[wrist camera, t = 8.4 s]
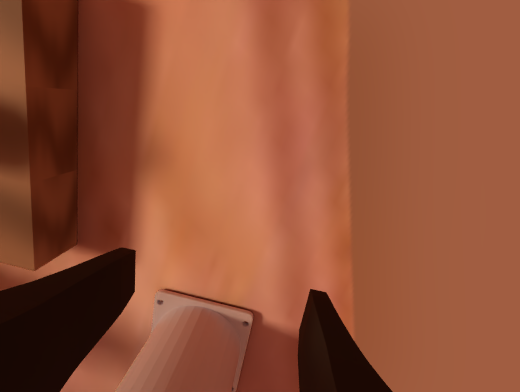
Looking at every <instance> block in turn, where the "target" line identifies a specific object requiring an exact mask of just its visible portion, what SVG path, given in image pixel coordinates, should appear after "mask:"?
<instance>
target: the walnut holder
mask: <svg viewBox="0 0 520 392" xmlns="http://www.w3.org/2000/svg"><path fill="white" fill-rule="evenodd" d="M77 97H78V0H0V263H4V264H8V265H12V266H16V267H20V268H24V269H28V270H32V271H35V270H37V269H39V268H40V267H42V266H43V265H45V264H46V263H48V262H50V261H51V260H53V259H54V258H56V257H58V256H59V255H61V254H62V253H64V252H65V251H67V250H69V249H70V248H72V247H73V246H75V245H76V244H77Z"/></svg>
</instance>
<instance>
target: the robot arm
mask: <svg viewBox="0 0 520 392" xmlns="http://www.w3.org/2000/svg"><path fill="white" fill-rule="evenodd" d="M135 254H136V251H135V250H131V249H126V248H122V247H121V248H118V249H115V250H113V251H110V252H108V253H105V254H103V255H100V256H98V257H95V258H93V259H90V260H88V261H85V262H83V263H81V264H78V265H76V266H73V267H71V268H68V269H65V270H63V271H60V272H57V273H55V274H52V275H49V276H46V277H44V278H41V279H38V280H35V281H32V282H29V283H26V284H23V285H19V286H16V287H13V288H9V289H6V290H2V291H0V392H60V391H61V389H62V388H63V386H64V385H65V383H66V382H67V380H68V379H69V377H70V376H71V375H72V373H73V372H74V371H75V369H76V368H77V367H78V365H79V364H80V363H81V362H82V360H83V359H84V358H85V357H86V356H87V354H88V353H89V352H90V351H91V350H92V348H93V347H94V346H95V345H96V344H97V342H98V341H99V340H100V339H101V337H102V336H103V335H104V334H105V333H106V331H107V330H108V329H109V328H110V327H111V325H112V324H113V323H114V322H115V320H116V319H117V318H118V317H119V315H120V314H121V313H122V311H123V310H124V308H125V307H126V305H127V304H128V302H129V300H130V299H131V297H132V295H133V294H134V292H135ZM160 300H162V301H163V302H161V301H160ZM244 321H247V322H248V323H244ZM252 322H253V313H252V312H250V311H248V310H244V309H240V308H236V307H232V306H228V305H224V304H219V303H215V302H211V301H207V300H203V299H199V298H195V297H191V296H187V295H183V294H179V293H175V292H171V291H167V290H163V289H160V290H158V291H157V292H156V294H155V300H154V309H153V319H152V328H151V335H150V336H149V338H148V340H147V341H146V343H145V344H144V346H143V348H142V349H141V351H140V352H139V354H138V355H137V357H136V359H135V360H134V362H133V363H132V365H131V366H130V368H129V370H128V371H127V373H126V374H125V376H124V378H123V379H122V381H121V382H120V384H119V385H118V387H117V389H116V390H115V392H236V389H237V385H238V381H239V377H240V372H241V368H242V364H243V360H244V355H245V351H246V347H247V343H248V339H249V334H250V330H251V326H252ZM298 369H299V388H300V392H392V391H391V389H390V388H389V387H388V386H387V385H386V383H385V382H384V381H383V380H382V379H381V377H380V376H379V375H378V374H377V372H376V371H375V370H374V369H373V367H372V366H371V365H370V364H369V362H368V361H367V359H366V358H365V357H364V355H363V354H362V352H361V351H360V349H359V348H358V346H357V345H356V343H355V342H354V340H353V339H352V337H351V335H350V334H349V332H348V330H347V329H346V327H345V326H344V324H343V322H342V320H341V319H340V317H339V315H338V313H337V311H336V310H335V308H334V306H333V304H332V302H331V300H330V298H329V297H328V295H327V293H326V292H322V291H317V290H313V289H310V292H309V296H308V300H307V303H306V307H305V311H304V315H303V318H302V322H301V326H300V329H299V344H298Z"/></svg>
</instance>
